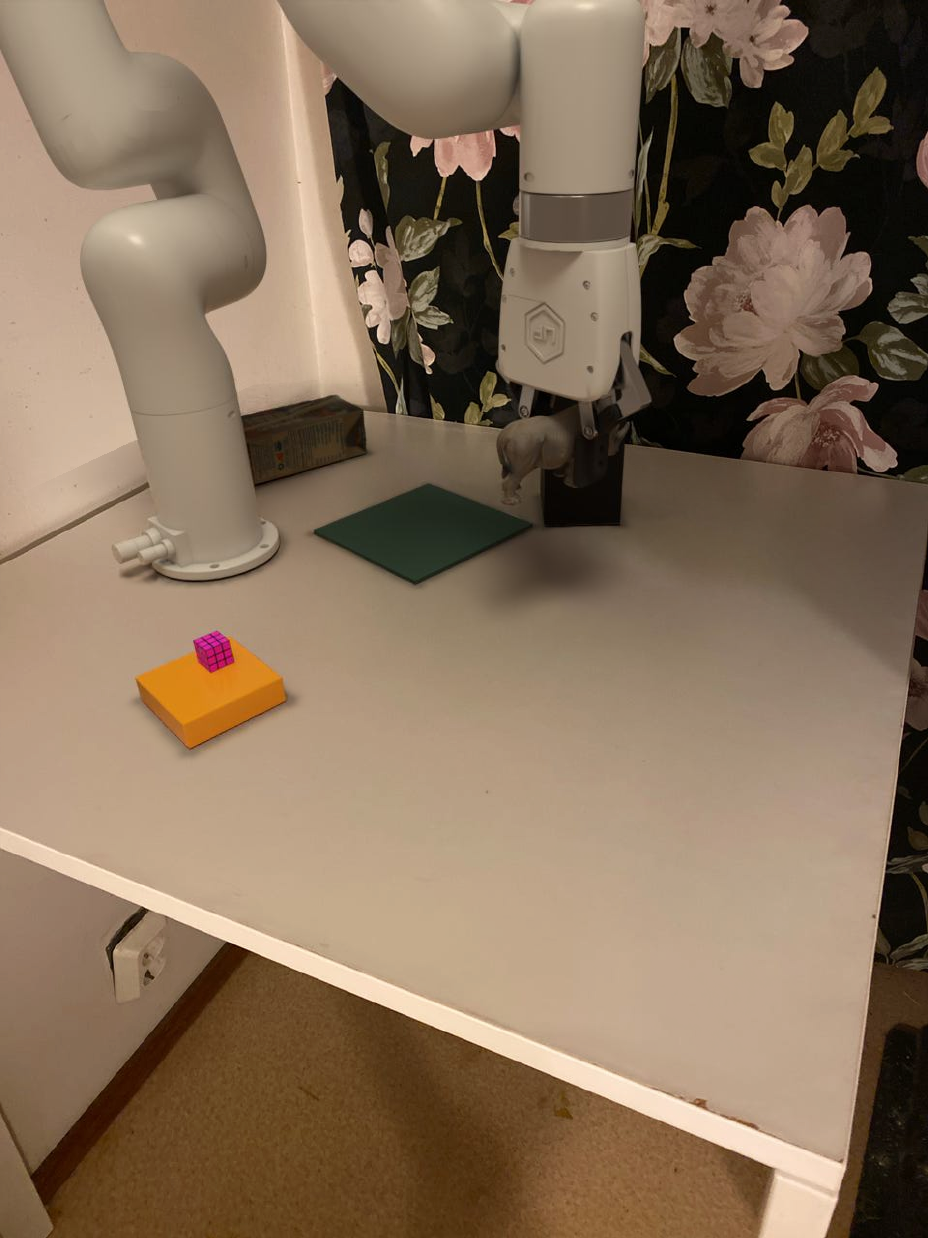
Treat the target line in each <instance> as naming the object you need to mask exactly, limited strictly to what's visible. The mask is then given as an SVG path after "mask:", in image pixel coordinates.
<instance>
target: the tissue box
mask: <svg viewBox="0 0 928 1238" xmlns="http://www.w3.org/2000/svg"><path fill="white" fill-rule="evenodd" d="M615 397H616V402H617V401H618V400H620V399H621V397H622V392H621V389H615ZM598 403H599V401H597V402H596V408H597V405H598ZM576 404H579V403H578V401H577V400H573V399H569V398H566V397H562V396H558V395H556V396H555V400H554V405H553V408H552V410H551V412H552V411H555V412H558V413H559V412H561V411H563V410H565V409H567V408H569V407H571V406H573V405H576ZM626 423H627V418H626V419H625V420H623V421H622V422H621V423H620V425H619V429H618V431H620V430H621V429H623V428H624V426H625V425H626ZM625 447H626V435H625V436H624V438H623V439H622V441H621V442H620V444H619V446H618V449H619V450H618V452H617V453H616V454H615V455H612V456H608V465H607V470H606V475H605V477H604V478H603V479H601V480H599V481H597V482H594V483H592V484H590V485H588V486H586V487H583V488H579V487H577V488H574V487H571V486H568V485H566V484H565V483H564V482H563V479H564V477H565V476H564V477H557V476H555V475H554V474H553V471H554V470H555V469H542V468H539V469H540V470H539V471H540V472H539V477H540V479H539V482H540V483H539V497H540V506H541V512H542V520H543V526H544V527H556V526H557V527H558V526H559V527H561V526H562V527H563V526H592V525H594V526H596V525H620V524H621V520H622V519H621V517H622V501H623V481H624V480H623V479H624V467H625V466H624V465H625V450H626V449H625Z"/></svg>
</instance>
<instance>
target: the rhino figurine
mask: <svg viewBox="0 0 928 1238" xmlns="http://www.w3.org/2000/svg"><path fill="white" fill-rule="evenodd" d="M599 413H600V409H599V403H598V405H597V415H598V414H599ZM619 425H620V424H619ZM619 425H618V427H617V428H616V429H615V430H613V431H610V436H609V450H608V456H612V455H615V454H616V453H617V452H618V450H619V449H618V446H619V444H620V442H621V441H622V439H623V438H624V436H625V437H626V435H627V433H628V431H629V429H630V425H631V422H629V421H626V425H625V426H624V428H623V429H621V430H620V431H618V429H619ZM580 435H583V434H582V428H581V420H580V411H579V404H576V405H573V406H571V407H569V408H567V409H565V410H563V411H561V412H559V413H557V414H554V415H551V416H535V417H531V418H524V419H523V418H521V419H517V420H514V421H511V422H510V423H508V424H507V425H506V426H505V427H503V428H502V429H501V430H500V432H499V433H498V435H497V437H496V443H495V446H496V453H497V456H498V461H499V464H500V465H501V473H500V476H501V477H500V478H501V479H502V481H501V490H502V491H503V496H502V497H501V499H500V503H501V504H502V505H505V506H508V507H518V506H519V505H521V504H523V502H524V501H523V498H522V497H521V495H520V494H518V493H517V491H520V490H521V489H522V484H521V483H522V481H523V480H524V479H525V477H526V476H528V475H529V474H530V473H532V472H533V471H534V470H535V469H534V468H535V467H538V468H537V469H540V468H542V469H555V470H554V471H553V474H554V475H555V476H557V477H564V476H565V477H564V479H563V482H564V483H565V484H566V485H568V486H571V487H574V488H577V487H576V486H575V485H574V483H573V472H574V450H575V439H576V437H578V436H580Z"/></svg>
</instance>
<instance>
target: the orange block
mask: <svg viewBox="0 0 928 1238" xmlns="http://www.w3.org/2000/svg"><path fill="white" fill-rule="evenodd" d="M192 641H193V642H192V643H193V647H194V650H195V651H193V652H190V653H188V654H185V655H183V656H181V657H179V658H176V659H174V660H171V661H169V662H167V663H164V664H163V665H160V666H158V667H155V668H152V669H151V670H149V671H147V672H144V673H142V674H140V675H137V676H135V678H134V679H135V681H136V686H137V688H138V693H139V695H140V696H139V697H140V698H141V699H140V700H141V701H142V702H143V703H144V704H145V705H146V706H147V708H148V709H150V710H151V711H152V712H153V713H154V714H155V716H157V718H158V719H159V720H160V721H161V722H162V723H163V724H164V725H165V726H166V727H167V728H168V729H169V730H170V731H171V732H172V733H173V734H174V735H175V736H176V737H177V738H178V739H179V740H180V741H181V742H182V743H183V744H184V746H185V747H186V748H188V749H192V748H195V747H196V746H198V745H200V744H202V743H204V742H206V741H208V740H210V739H212V738H214V737H216V736H218V735H220V734H222V733H224V732H226V731H229V730H230V729H232V728H234V727H236V726H239V725H241V724H243V723H244V722H246V721H248V720H250V719H252V718H255V717H256V716H258V715H260V714H262V713H265V712H267V711H268V710H271V709H273V708H275V707H276V706H278V705H280V704H283V703H285V702H286V701H287V696H286V690H285V686H284V680H283V676H281V674H279V673H277V672H276V671H275V670H273V668H272V667H270V666H269V665H268V664H266V663H265V662H264V661H262V660H261V659H260V658H258V656H256V655H254V653H252V652H251V651H250V650H248V649H247V648H245V646H243V645H242V644H241V643H240V642H238V641H237V640H236V639H235V638H234V637H232V636H227V637H226V636H225V635H223V634H222V633H221V632H220V631H218V630H214V631H211V632H209V633H207V634H205V635H203V636H201V637H198V638H195V639H193V640H192Z"/></svg>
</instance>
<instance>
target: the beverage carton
mask: <svg viewBox="0 0 928 1238" xmlns="http://www.w3.org/2000/svg"><path fill="white" fill-rule="evenodd" d="M241 418H242V423H243V429H244V434H245V440H246V445H247V451H248V456H249V461H250V467H251V472H252V478H253V483H254V486H255V485H257V484H261V483H265V482H269V481H272V480H275V479H278V478H283V477H287V476H290V475H293V474H298V473H301V472H304V471H308V470H312V469H316V468H319V467H322V466H326V465H330V464H333V463H336V462H340V461H344V460H347V459H350V458H354V457H358V456H361V455H365V454H367V453H368V452H367V451H368V450H367V441H368V440H367V431H366V423H365V411H364V409H363V408H362V407H360V406H358V405H355V404H353V403H351V402H350V401H347V400H346V399H343V398H341V397H340V395H338V394H329V395H326V396H324V397H320V398H315V399H312V400H307V401H301V402H296V403H291V404H287V405H283V406H278V407H274V408H269V409H265V410H261V411H256V412H252V413H247V414H244V415H242V414H241Z"/></svg>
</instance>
